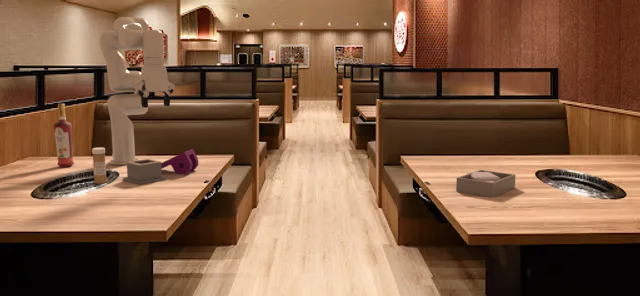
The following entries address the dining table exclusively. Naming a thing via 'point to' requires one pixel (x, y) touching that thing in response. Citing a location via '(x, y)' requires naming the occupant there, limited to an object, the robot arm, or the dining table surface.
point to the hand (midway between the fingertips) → (156, 106)
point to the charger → (484, 176)
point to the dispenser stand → (486, 184)
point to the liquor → (63, 139)
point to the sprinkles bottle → (99, 165)
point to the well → (144, 171)
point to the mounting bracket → (182, 162)
